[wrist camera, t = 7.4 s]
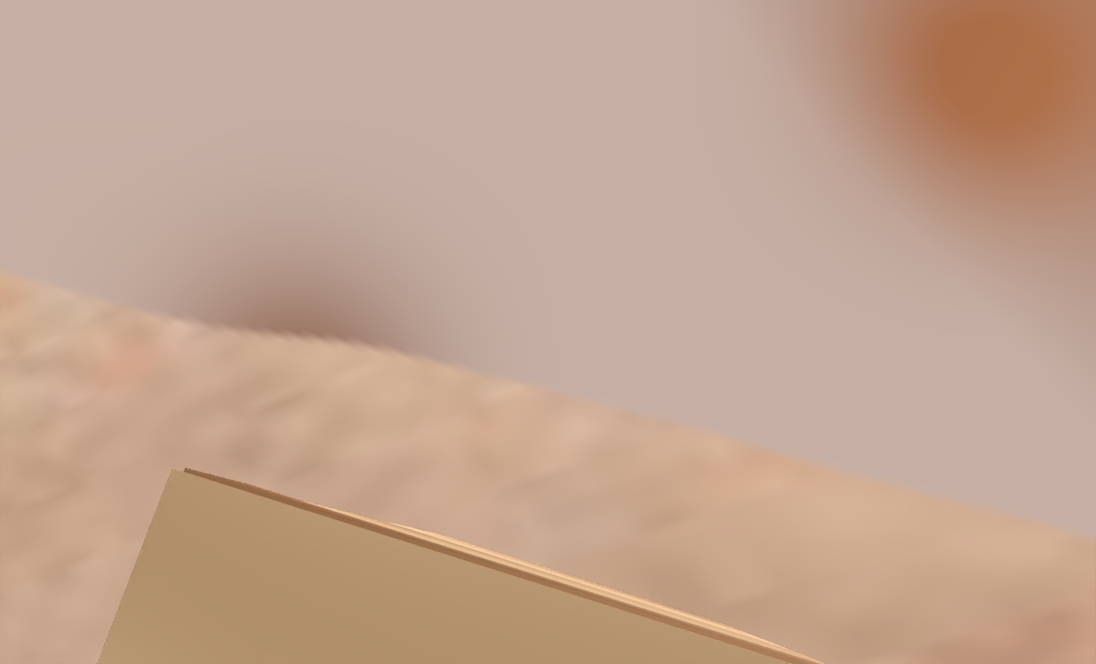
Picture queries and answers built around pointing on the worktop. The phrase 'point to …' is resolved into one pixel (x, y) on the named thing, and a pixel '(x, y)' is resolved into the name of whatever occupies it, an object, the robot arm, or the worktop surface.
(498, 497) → the worktop surface
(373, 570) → the pale gold square block
